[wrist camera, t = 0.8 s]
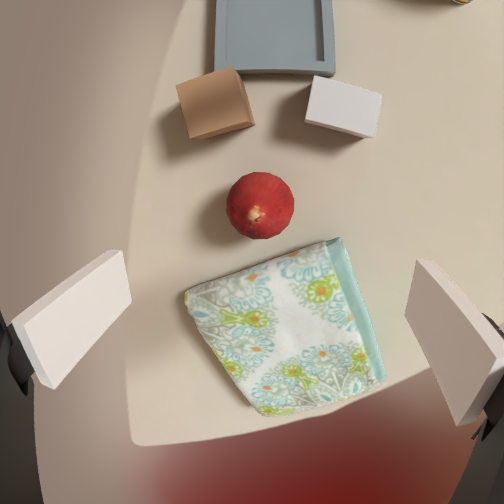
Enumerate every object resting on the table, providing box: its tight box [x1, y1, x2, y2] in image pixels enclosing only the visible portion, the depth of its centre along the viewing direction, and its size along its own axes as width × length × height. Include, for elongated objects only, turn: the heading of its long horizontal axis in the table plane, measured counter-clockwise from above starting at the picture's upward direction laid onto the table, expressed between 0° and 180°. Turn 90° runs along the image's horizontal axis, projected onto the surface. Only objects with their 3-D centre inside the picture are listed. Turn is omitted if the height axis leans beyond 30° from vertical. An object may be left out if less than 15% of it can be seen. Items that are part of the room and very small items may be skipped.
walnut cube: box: [176, 66, 255, 139], centre depth 24 cm, size 5×5×5 cm
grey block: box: [304, 75, 383, 138], centre depth 23 cm, size 4×6×4 cm, turn 79°
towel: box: [184, 237, 386, 417], centre depth 32 cm, size 18×21×5 cm
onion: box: [226, 172, 294, 239], centre depth 25 cm, size 6×6×8 cm
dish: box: [214, 0, 336, 76], centre depth 21 cm, size 11×11×2 cm
